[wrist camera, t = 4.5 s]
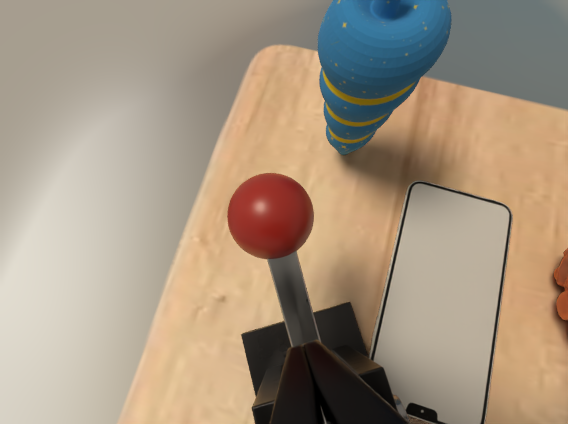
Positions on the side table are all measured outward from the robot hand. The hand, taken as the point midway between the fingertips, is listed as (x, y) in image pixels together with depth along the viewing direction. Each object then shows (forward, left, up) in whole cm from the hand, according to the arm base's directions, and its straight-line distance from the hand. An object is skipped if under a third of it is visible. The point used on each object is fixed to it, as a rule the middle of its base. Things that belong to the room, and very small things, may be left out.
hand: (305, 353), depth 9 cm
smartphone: (-1, -10, -14) cm, 17 cm away
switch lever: (+1, 0, -6) cm, 6 cm away
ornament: (+11, -7, -14) cm, 19 cm away
